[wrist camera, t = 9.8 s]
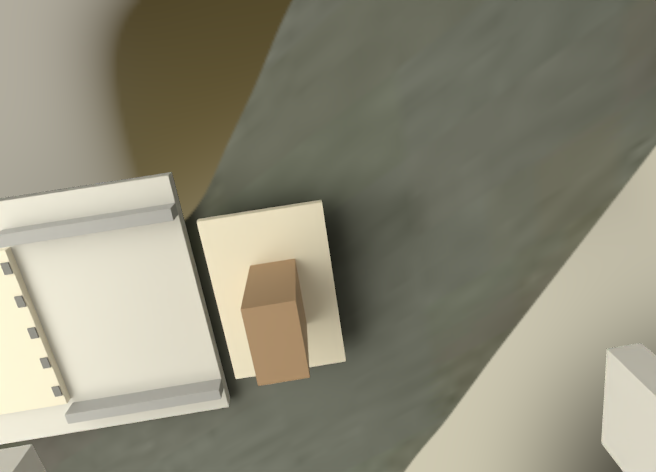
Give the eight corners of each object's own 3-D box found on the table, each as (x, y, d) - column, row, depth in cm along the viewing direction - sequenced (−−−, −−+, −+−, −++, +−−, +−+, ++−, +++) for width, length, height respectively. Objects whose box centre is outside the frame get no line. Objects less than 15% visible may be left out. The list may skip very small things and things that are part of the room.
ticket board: (171, 172, 31) (162, 180, 28) (230, 398, 37) (226, 418, 34) (-203, 229, 30) (-242, 242, 28) (-80, 449, 36) (-104, 473, 34)
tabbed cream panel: (321, 199, 30) (328, 233, 24) (345, 356, 35) (356, 419, 28) (198, 218, 30) (174, 257, 24) (236, 374, 34) (224, 441, 28)
